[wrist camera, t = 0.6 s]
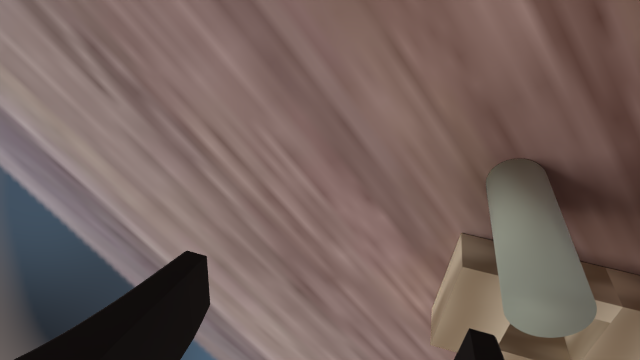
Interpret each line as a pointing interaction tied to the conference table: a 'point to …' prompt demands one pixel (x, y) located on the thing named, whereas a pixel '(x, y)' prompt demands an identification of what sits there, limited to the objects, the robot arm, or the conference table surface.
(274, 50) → the conference table surface
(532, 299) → the long pin
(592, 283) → the hole plate
